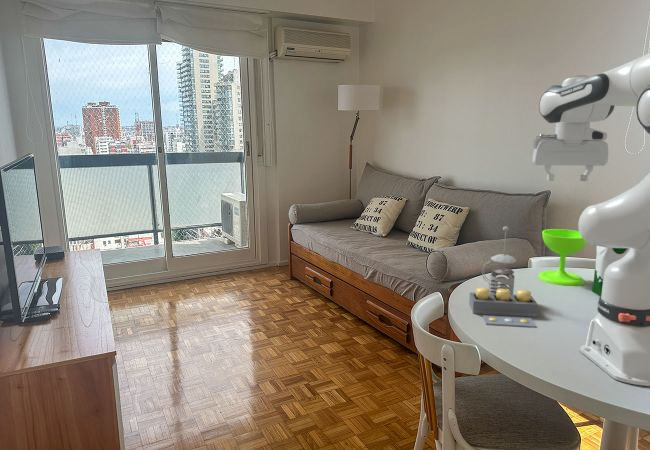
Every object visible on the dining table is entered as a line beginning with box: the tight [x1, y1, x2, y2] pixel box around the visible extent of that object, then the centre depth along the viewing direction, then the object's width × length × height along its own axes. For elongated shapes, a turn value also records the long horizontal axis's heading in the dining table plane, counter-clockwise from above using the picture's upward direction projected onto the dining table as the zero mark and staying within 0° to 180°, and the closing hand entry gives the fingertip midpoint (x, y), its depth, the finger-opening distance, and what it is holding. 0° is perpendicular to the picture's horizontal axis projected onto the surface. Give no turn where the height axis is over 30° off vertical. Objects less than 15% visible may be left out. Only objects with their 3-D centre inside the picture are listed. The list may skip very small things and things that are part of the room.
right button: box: [516, 289, 532, 302], centre depth 142 cm, size 4×4×3 cm
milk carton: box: [591, 246, 630, 297], centre depth 155 cm, size 9×9×20 cm
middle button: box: [496, 289, 510, 301], centre depth 143 cm, size 4×4×3 cm
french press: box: [481, 226, 517, 295], centre depth 153 cm, size 10×12×25 cm
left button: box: [475, 287, 490, 300], centre depth 144 cm, size 4×4×3 cm
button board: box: [468, 292, 539, 328], centre depth 140 cm, size 16×19×4 cm
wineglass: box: [537, 228, 588, 287], centre depth 173 cm, size 16×16×18 cm
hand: (566, 180), depth 137 cm, fingers open, 8 cm apart
